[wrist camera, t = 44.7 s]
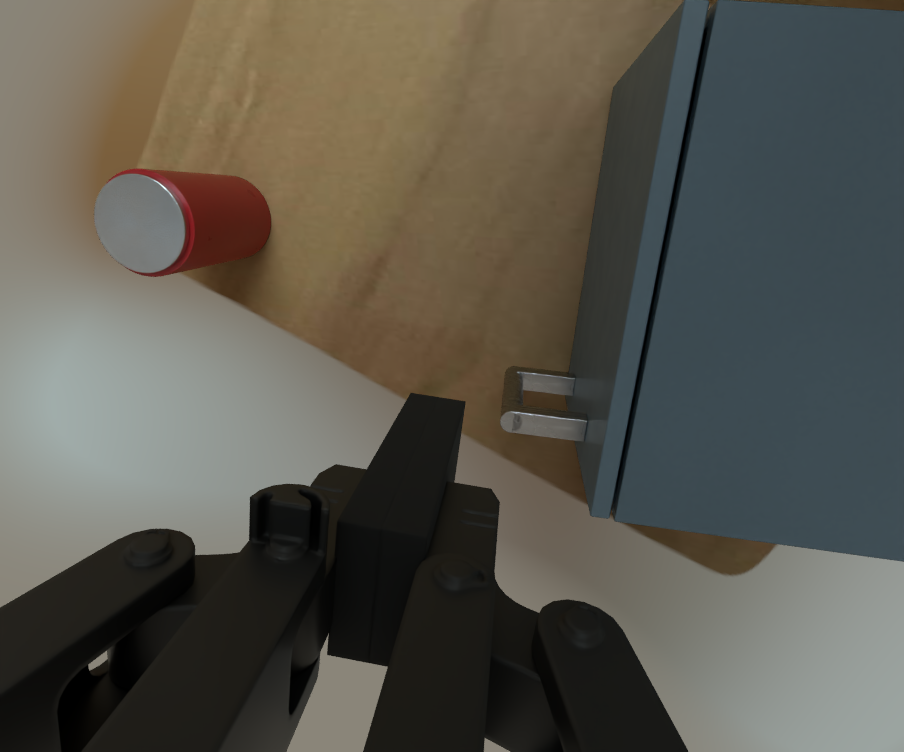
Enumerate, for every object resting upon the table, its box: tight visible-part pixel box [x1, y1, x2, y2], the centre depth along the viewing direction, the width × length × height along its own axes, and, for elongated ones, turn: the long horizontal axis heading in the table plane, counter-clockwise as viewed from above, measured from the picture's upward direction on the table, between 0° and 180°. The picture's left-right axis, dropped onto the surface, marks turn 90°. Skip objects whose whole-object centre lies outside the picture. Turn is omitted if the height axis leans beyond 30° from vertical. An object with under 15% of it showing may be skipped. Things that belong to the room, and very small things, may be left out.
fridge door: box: [500, 0, 709, 519], centre depth 36 cm, size 6×24×19 cm, turn 175°
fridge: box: [611, 0, 904, 562], centre depth 35 cm, size 15×24×20 cm, turn 175°
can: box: [94, 169, 271, 277], centre depth 42 cm, size 7×7×12 cm
